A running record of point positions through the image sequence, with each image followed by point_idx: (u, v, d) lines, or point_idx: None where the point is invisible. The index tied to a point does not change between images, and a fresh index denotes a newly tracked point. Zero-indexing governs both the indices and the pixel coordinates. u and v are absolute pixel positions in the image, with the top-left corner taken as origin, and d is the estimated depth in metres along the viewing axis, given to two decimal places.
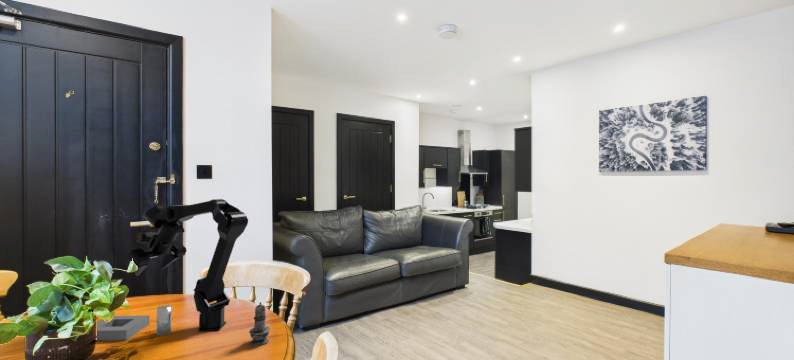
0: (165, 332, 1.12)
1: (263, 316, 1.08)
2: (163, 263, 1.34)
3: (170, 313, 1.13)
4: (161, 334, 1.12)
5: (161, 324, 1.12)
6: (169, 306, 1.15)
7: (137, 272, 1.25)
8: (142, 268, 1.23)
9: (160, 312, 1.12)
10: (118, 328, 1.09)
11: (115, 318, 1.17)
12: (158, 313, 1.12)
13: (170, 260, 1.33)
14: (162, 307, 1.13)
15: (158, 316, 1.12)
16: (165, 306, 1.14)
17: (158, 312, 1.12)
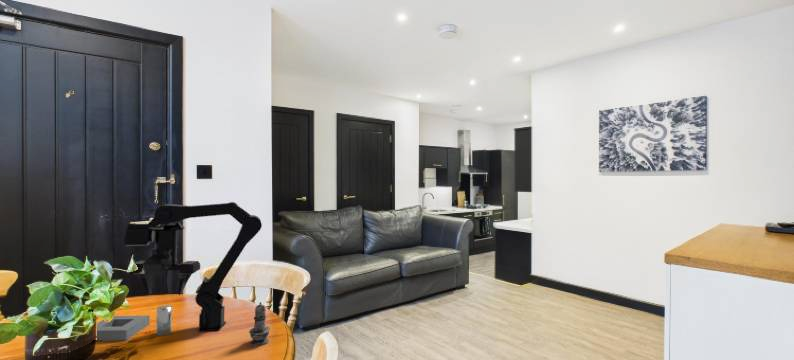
0: (165, 332, 1.12)
1: (263, 316, 1.08)
2: (149, 287, 1.13)
3: (170, 313, 1.13)
4: (161, 334, 1.12)
5: (161, 324, 1.12)
6: (169, 306, 1.15)
7: (183, 288, 1.15)
8: None
9: (160, 312, 1.12)
10: (118, 328, 1.09)
11: (115, 318, 1.17)
12: (158, 313, 1.12)
13: (152, 277, 1.15)
14: (162, 307, 1.13)
15: (158, 316, 1.12)
16: (165, 306, 1.14)
17: (158, 312, 1.12)
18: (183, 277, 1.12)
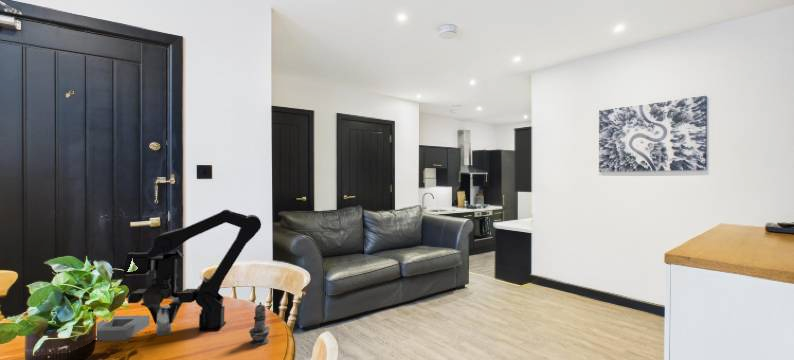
0: (165, 332, 1.12)
1: (263, 316, 1.08)
2: (156, 315, 1.13)
3: None
4: (161, 334, 1.12)
5: (161, 324, 1.12)
6: (169, 306, 1.15)
7: (174, 316, 1.15)
8: None
9: (160, 312, 1.12)
10: (118, 328, 1.09)
11: (115, 318, 1.17)
12: (158, 313, 1.12)
13: (159, 305, 1.15)
14: (162, 307, 1.13)
15: (158, 316, 1.12)
16: (165, 306, 1.14)
17: (158, 312, 1.12)
18: (174, 306, 1.12)
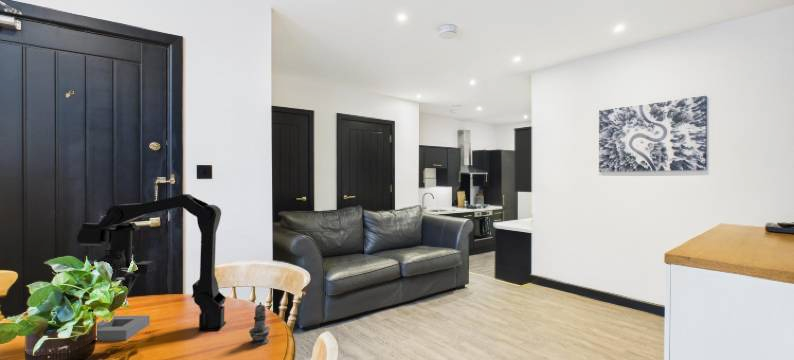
0: None
1: (263, 316, 1.08)
2: None
3: (124, 284, 1.13)
4: None
5: None
6: (124, 278, 1.14)
7: (130, 288, 1.14)
8: None
9: None
10: (118, 328, 1.09)
11: (115, 318, 1.17)
12: None
13: (114, 277, 1.15)
14: (117, 279, 1.13)
15: None
16: (120, 278, 1.14)
17: None
18: (129, 277, 1.11)
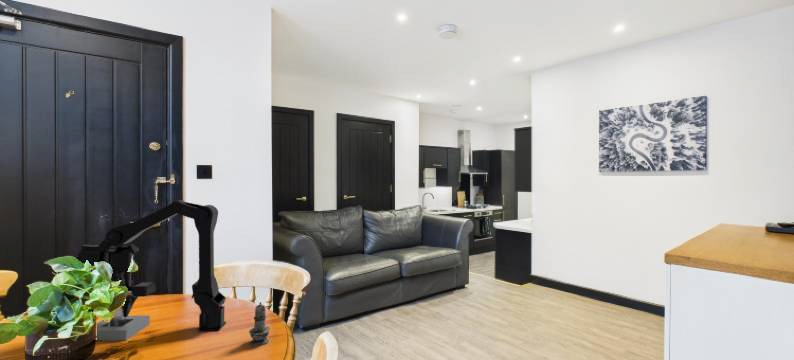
0: None
1: (263, 316, 1.08)
2: None
3: None
4: None
5: (114, 317, 1.11)
6: None
7: (129, 310, 1.14)
8: None
9: None
10: (118, 328, 1.09)
11: None
12: None
13: None
14: None
15: None
16: None
17: None
18: (128, 299, 1.11)
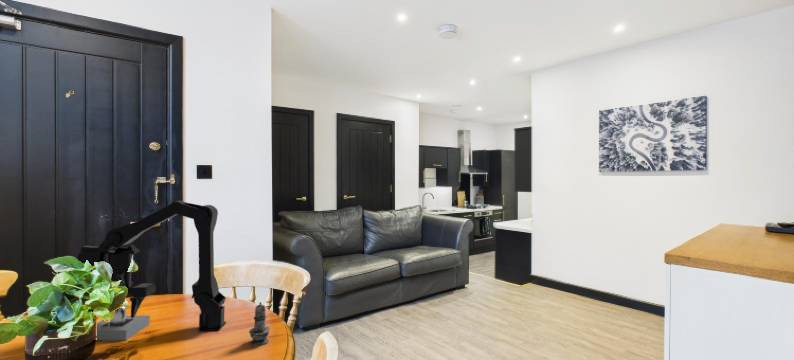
0: None
1: (263, 316, 1.08)
2: None
3: (123, 312, 1.13)
4: None
5: (114, 323, 1.11)
6: None
7: (136, 311, 1.14)
8: None
9: None
10: (118, 328, 1.09)
11: None
12: None
13: None
14: None
15: None
16: None
17: None
18: (135, 300, 1.12)
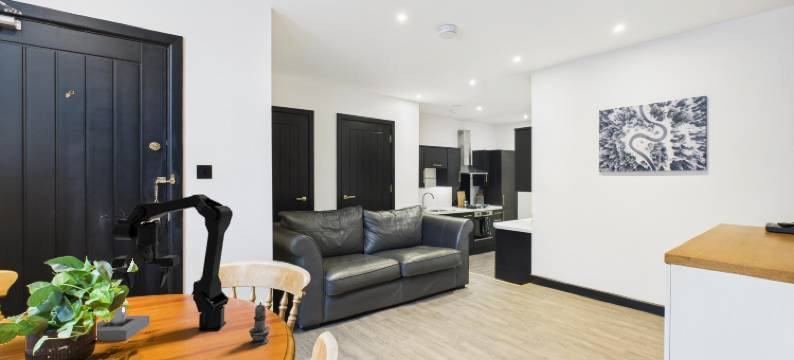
0: None
1: (263, 316, 1.08)
2: (131, 280, 1.21)
3: (123, 312, 1.13)
4: None
5: (114, 323, 1.11)
6: None
7: (164, 280, 1.23)
8: None
9: None
10: (118, 328, 1.09)
11: None
12: None
13: None
14: None
15: None
16: None
17: None
18: (164, 270, 1.20)
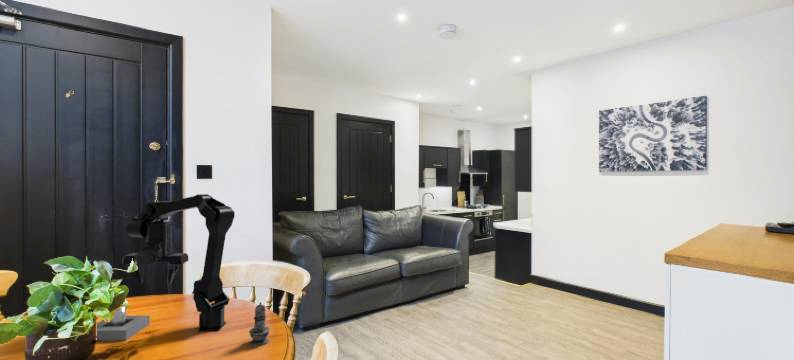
0: None
1: (263, 316, 1.08)
2: (141, 277, 1.24)
3: (123, 312, 1.13)
4: None
5: (114, 323, 1.11)
6: None
7: (173, 277, 1.26)
8: None
9: None
10: (118, 328, 1.09)
11: None
12: None
13: (143, 267, 1.26)
14: None
15: None
16: None
17: None
18: (172, 267, 1.23)
